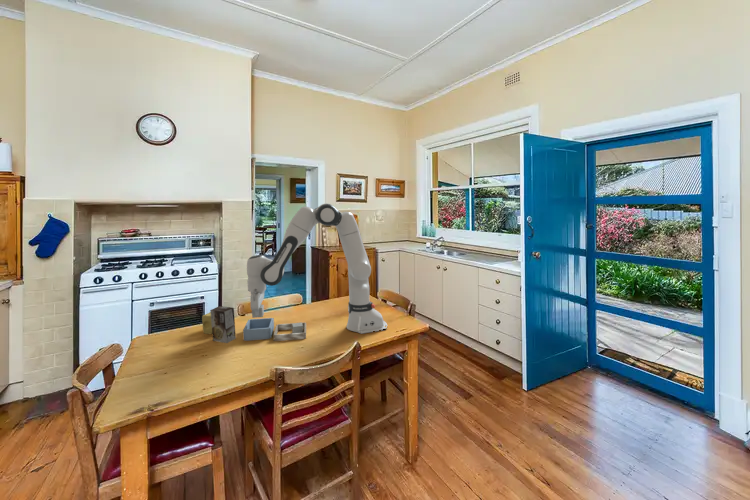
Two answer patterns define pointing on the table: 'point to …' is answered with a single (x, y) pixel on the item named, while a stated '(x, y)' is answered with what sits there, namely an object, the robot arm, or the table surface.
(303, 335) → the corral
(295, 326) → the stone
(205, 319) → the cheese
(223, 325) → the coffee box
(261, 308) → the stone
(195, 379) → the table surface
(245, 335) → the bin
